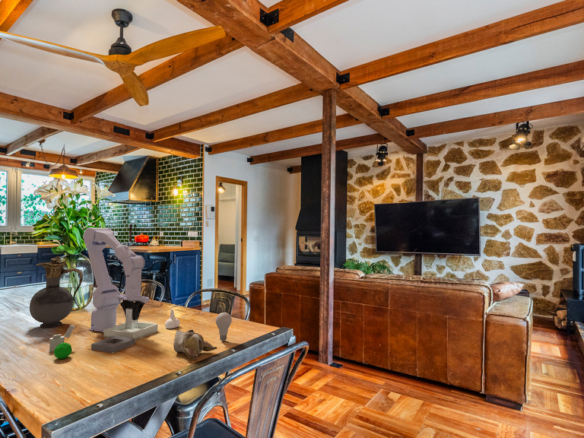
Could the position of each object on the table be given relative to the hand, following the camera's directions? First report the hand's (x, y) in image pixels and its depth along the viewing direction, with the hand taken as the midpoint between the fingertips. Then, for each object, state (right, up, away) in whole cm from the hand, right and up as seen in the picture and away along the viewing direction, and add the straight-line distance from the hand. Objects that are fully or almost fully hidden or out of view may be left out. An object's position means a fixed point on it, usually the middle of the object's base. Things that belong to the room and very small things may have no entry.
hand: (132, 319), depth 137 cm
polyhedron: (-10, -5, -26) cm, 29 cm away
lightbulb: (+39, -7, -7) cm, 40 cm away
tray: (0, -6, 0) cm, 6 cm away
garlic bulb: (+13, -7, +10) cm, 18 cm away
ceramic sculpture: (+31, -6, -21) cm, 38 cm away
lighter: (-16, -5, -18) cm, 25 cm away
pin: (0, -4, 0) cm, 4 cm away
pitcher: (-39, -6, +11) cm, 40 cm away
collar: (+1, -6, -15) cm, 16 cm away
